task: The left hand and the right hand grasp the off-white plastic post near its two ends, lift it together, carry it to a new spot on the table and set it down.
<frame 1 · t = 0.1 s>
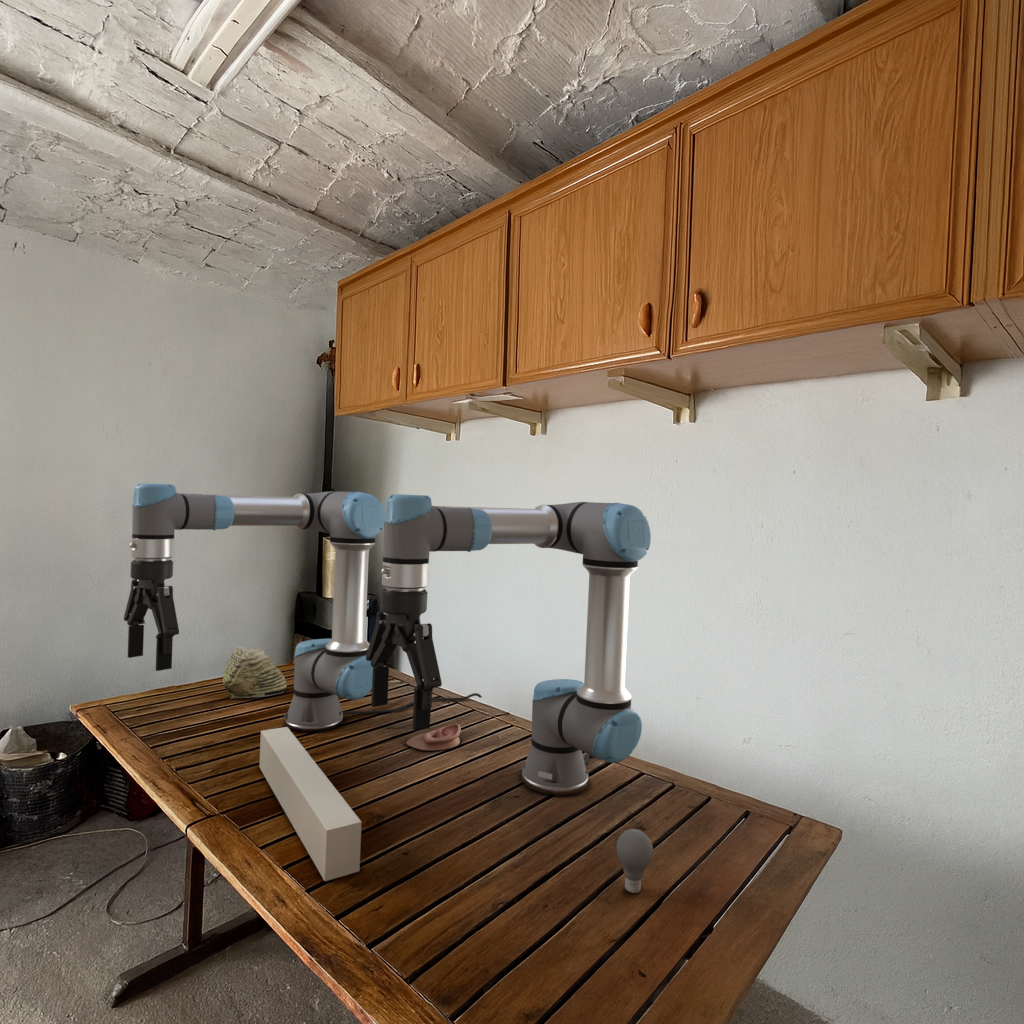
left hand: (149, 662, 129), 28 cm above the table, tool pointing down, fingers open, 13 cm apart
right hand: (399, 716, 104), 28 cm above the table, tool pointing down, fingers open, 13 cm apart
light bulb: (632, 891, 106), on the table
fossil: (254, 694, 198), on the table
anatomical model: (433, 743, 165), on the table
post: (301, 811, 127), on the table
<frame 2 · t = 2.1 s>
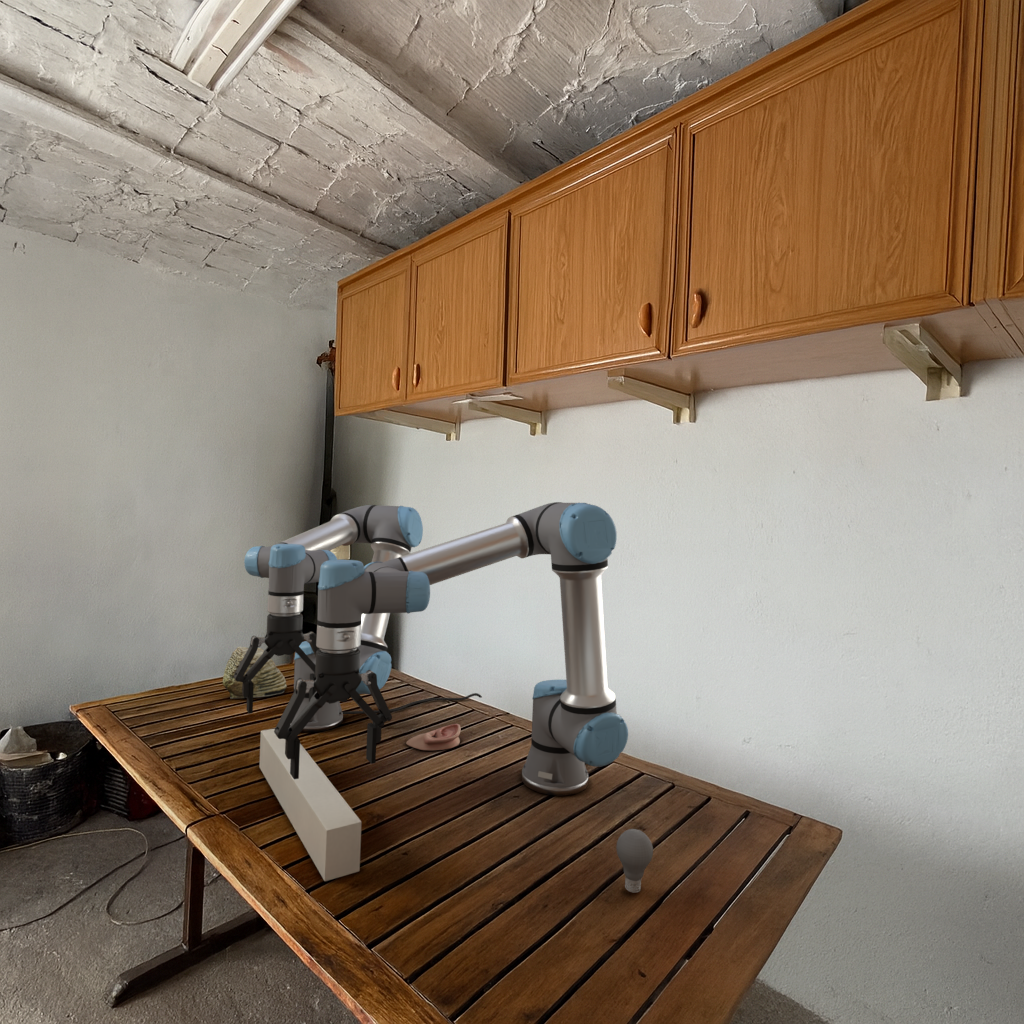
left hand: (281, 707, 142), 16 cm above the table, tool pointing down, fingers open, 13 cm apart
right hand: (333, 768, 112), 16 cm above the table, tool pointing down, fingers open, 13 cm apart
nothing on the table moved.
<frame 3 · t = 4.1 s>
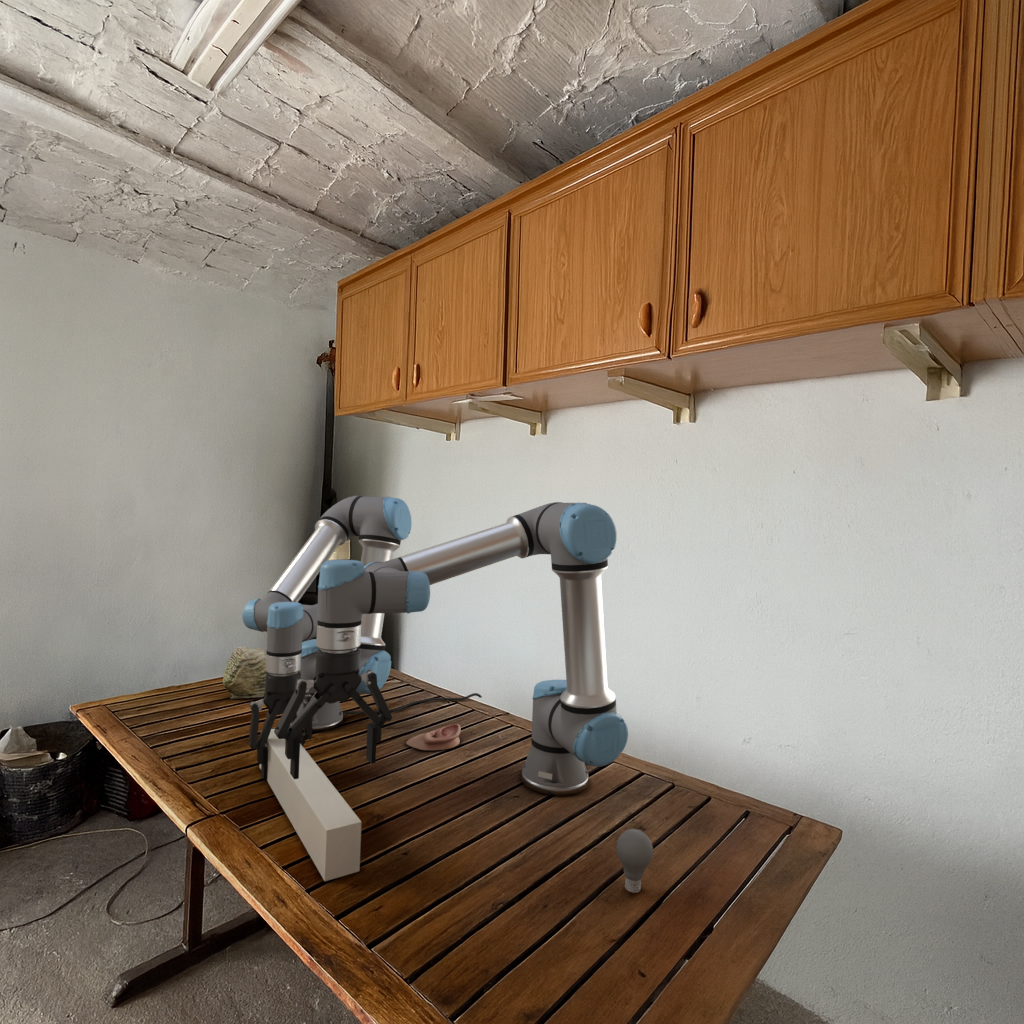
left hand: (279, 773, 143), 0 cm above the table, tool pointing down, fingers closed on post, 6 cm apart
right hand: (333, 768, 112), 16 cm above the table, tool pointing down, fingers open, 13 cm apart
post: (301, 811, 127), on the table, touching left hand
everything else where it was.
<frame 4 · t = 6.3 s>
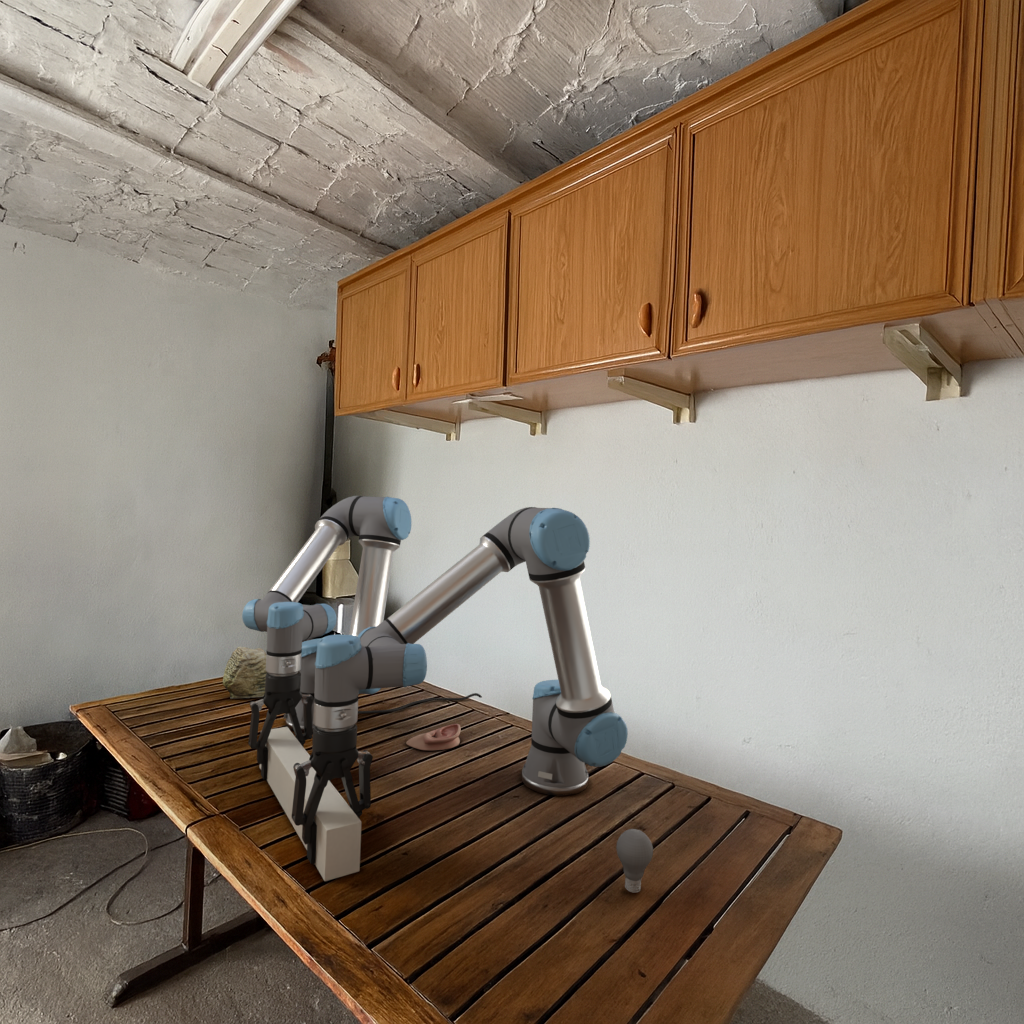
left hand: (279, 773, 143), 0 cm above the table, tool pointing down, fingers closed on post, 6 cm apart
right hand: (330, 854, 112), 1 cm above the table, tool pointing down, fingers closed on post, 6 cm apart
post: (301, 811, 127), on the table, touching left hand, right hand
everything else where it was.
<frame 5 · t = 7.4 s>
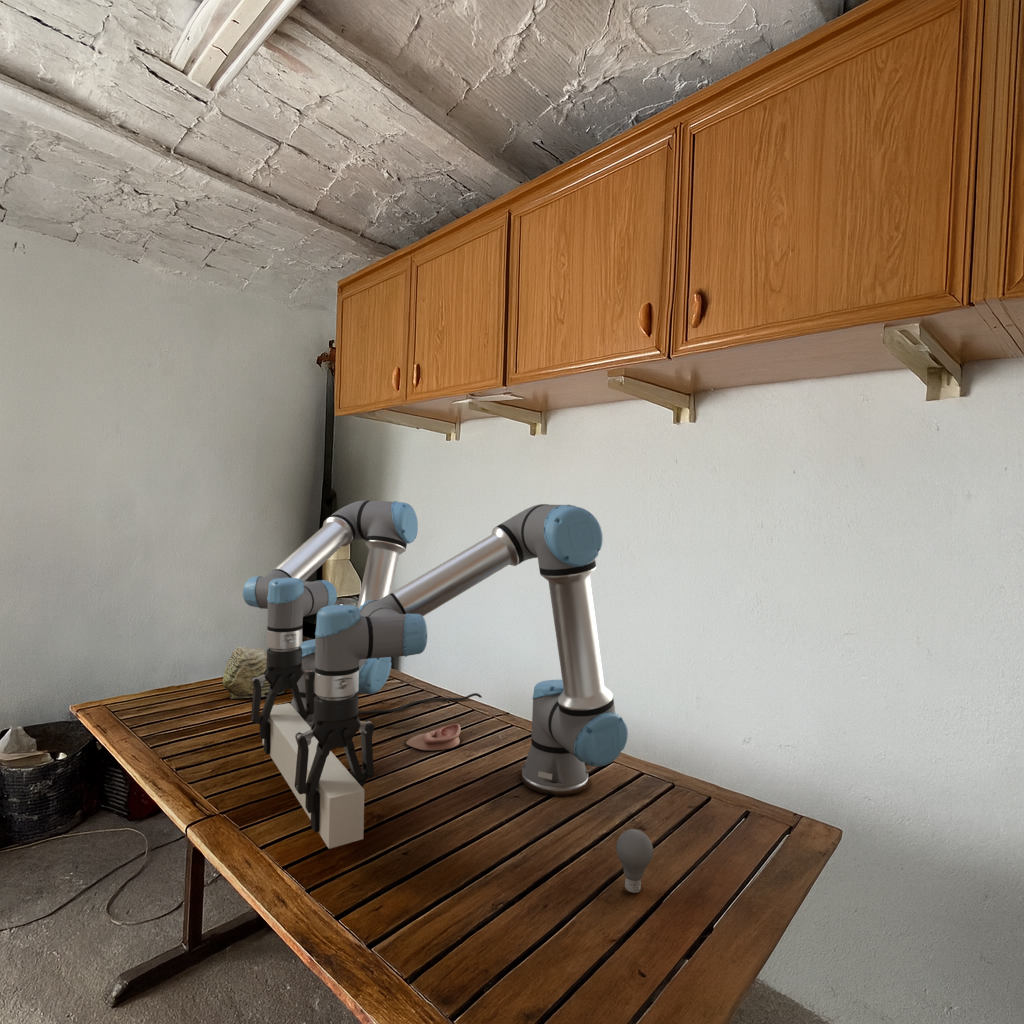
left hand: (282, 748, 143), 6 cm above the table, tool pointing down, fingers closed on post, 6 cm apart
right hand: (334, 823, 112), 6 cm above the table, tool pointing down, fingers closed on post, 6 cm apart
post: (305, 784, 128), point 5 cm above the table, touching left hand, right hand
everything else where it was.
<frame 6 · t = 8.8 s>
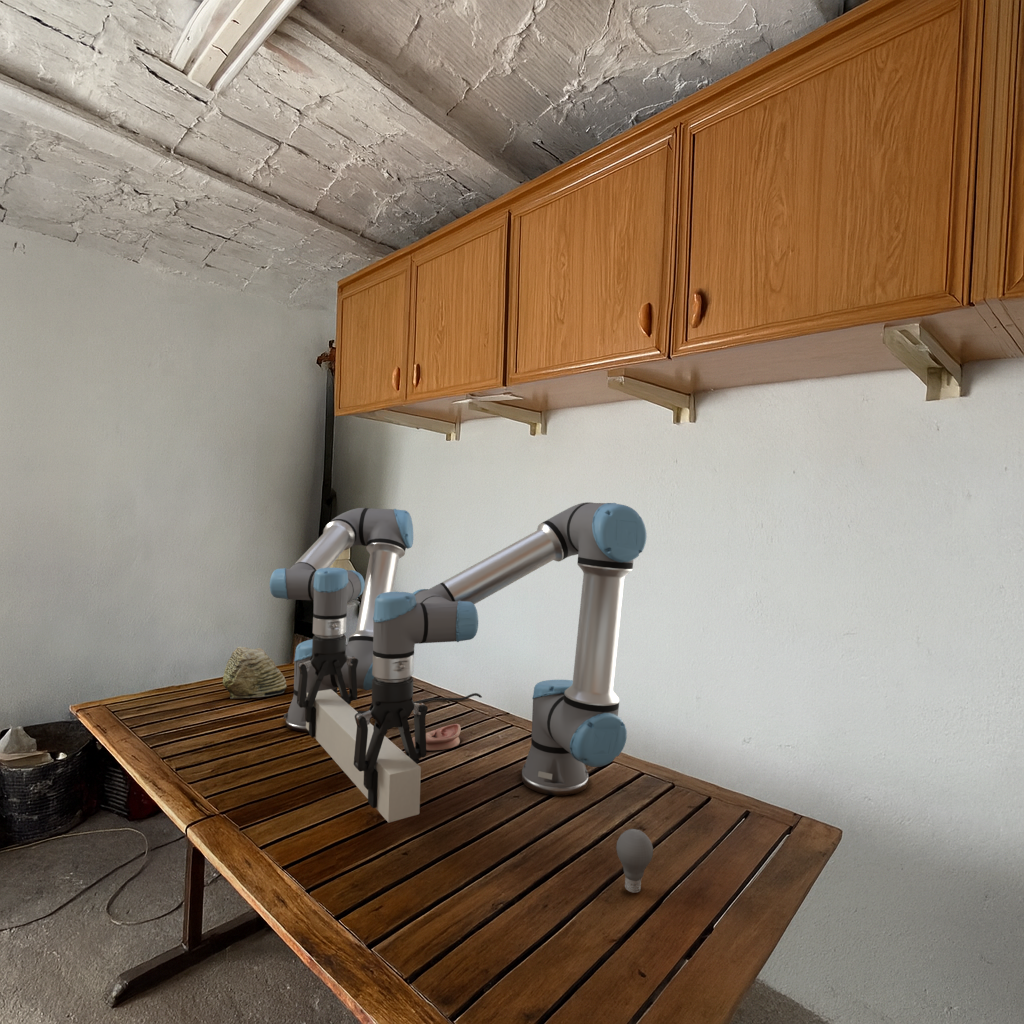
left hand: (326, 732, 148), 8 cm above the table, tool pointing down, fingers closed on post, 6 cm apart
right hand: (389, 799, 118), 8 cm above the table, tool pointing down, fingers closed on post, 6 cm apart
post: (354, 764, 133), point 7 cm above the table, touching left hand, right hand
everything else where it was.
when the left hand's fingers open (2 cm above the table, at t = 11.1 s): post drops 1 cm, on the table.
when the right hand's fingers open (2 cm above the table, at t = 11.1 s): post drops 1 cm, on the table.
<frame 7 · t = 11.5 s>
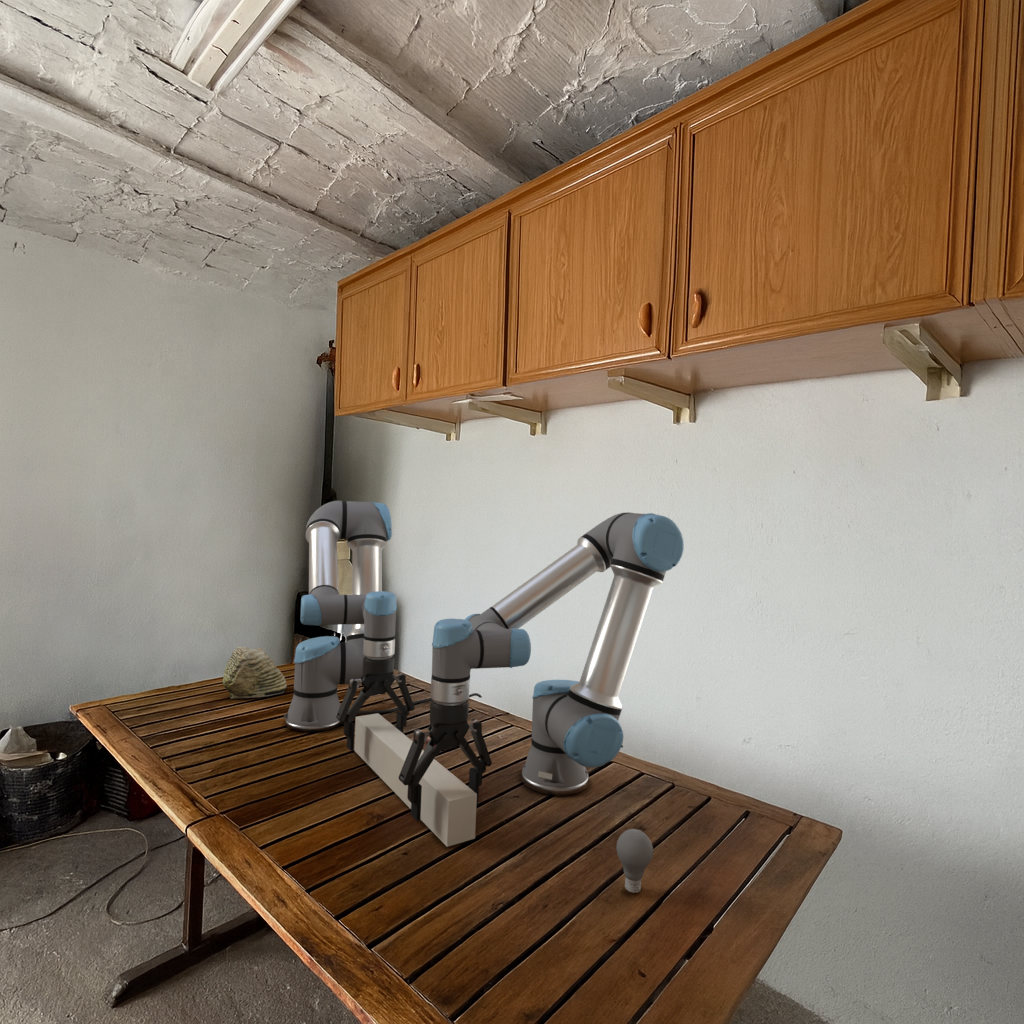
left hand: (375, 744, 155), 3 cm above the table, tool pointing down, fingers open, 12 cm apart
right hand: (445, 810, 124), 3 cm above the table, tool pointing down, fingers open, 12 cm apart
post: (406, 788, 139), on the table
everything else where it was.
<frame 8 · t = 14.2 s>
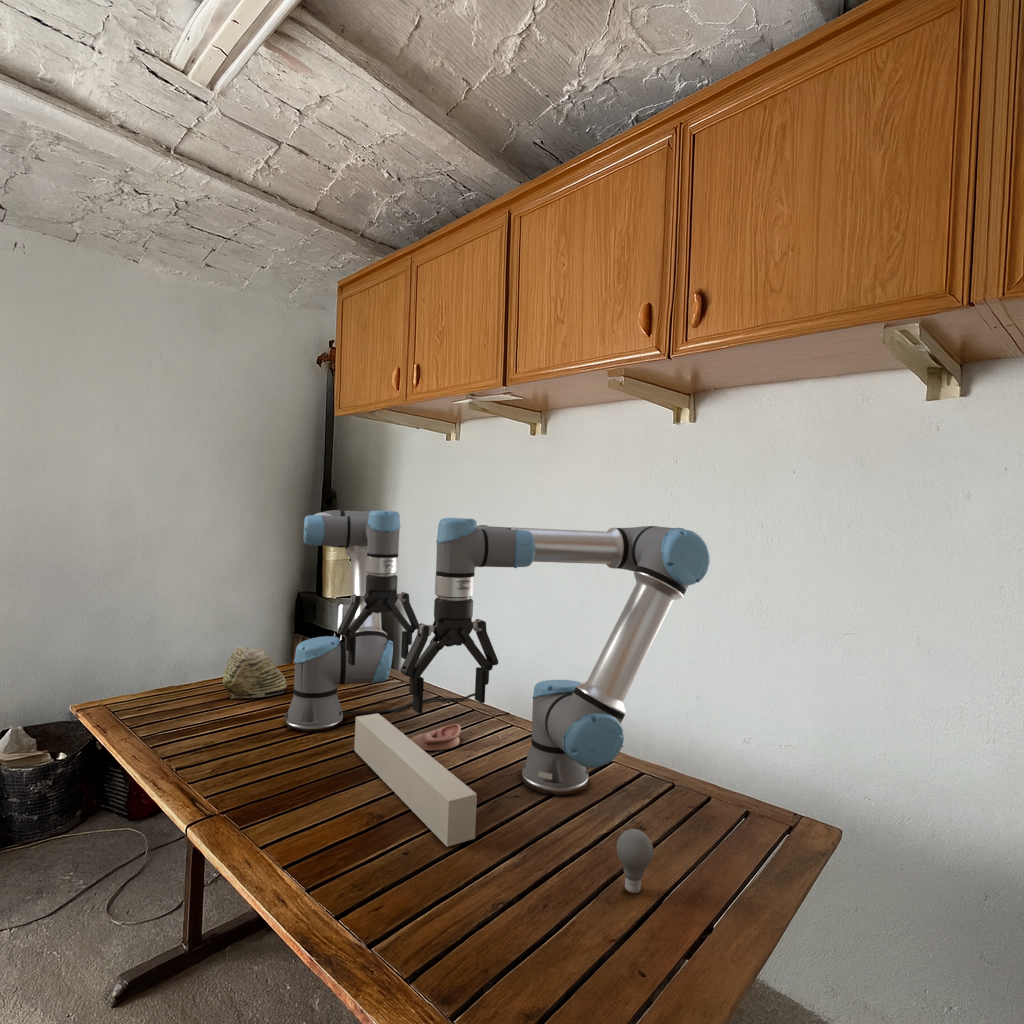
left hand: (378, 661, 154), 24 cm above the table, tool pointing down, fingers open, 13 cm apart
right hand: (449, 706, 123), 24 cm above the table, tool pointing down, fingers open, 13 cm apart
nothing on the table moved.
at the end: post inside the target area (0.1 cm from its centre), on the table; post tilted 0°; post never tilted more than 2° during the clip; both hands held the post at the same time; the left hand is holding nothing; the right hand is holding nothing; post at rest at the end (0.0 cm/s) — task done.
